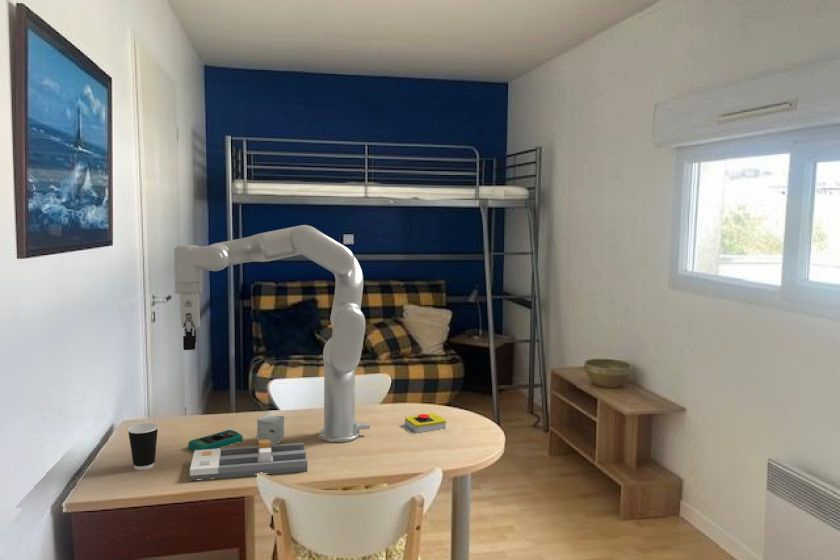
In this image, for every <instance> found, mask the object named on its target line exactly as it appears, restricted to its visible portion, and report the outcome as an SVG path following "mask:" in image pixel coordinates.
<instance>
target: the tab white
mask: <svg viewBox="0 0 840 560" xmlns="http://www.w3.org/2000/svg"><path fill="white" fill-rule="evenodd" d="M259 456H260V457H258V463H263V462H273V456H271V448H262V449H259Z"/></svg>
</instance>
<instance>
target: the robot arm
mask: <svg viewBox="0 0 840 560" xmlns="http://www.w3.org/2000/svg"><path fill="white" fill-rule="evenodd" d="M298 255H299V256H300V255H303V257H306V259H308V260H310V261H312V262H314V263H316V264H317V265H319V266H321V267H322V268H324V269H326V270H328V271H329V272H331V273H332V274H333V275H334V278H335V287H334V296H333V303H332V308H331V312H330V313H331V314H330V315H329V316H330V318H329V319H330V323H331V326H332V331H331V332H332V334H331V337H330V338H329V339H328V340H327V341H326V343H325V345H324V347H323V351H322V352H323V353H322V357H323V359H322V361H323V375H324V376H323V382H324V383H323V386H324V387H323V388H324V389H323V391H324V392H323V394H324V395H323V399H324V400H323V403H324V404H323V405H324V406H323V410H324V411H323V413H324V415H323V422H324V423H323V427H324V428H323V429H321V430H320V431H319V433H318V436H319V438H320V439H321V440H323V441H325V442H330V443H345V442H350V441H354V440H357V439H358V438H359V437H360V430H361V431H362V430H365V431H366V430H370V428H371V425H370V423H369V422H367V423H365V421H360V422H358V421H356V418H355V417H356V416H355V415H356V406H355V405H356V404H355V400H356V399H355V398H356V396H355V395H356V393H355V391H356V370H355V369H357V367H358V366H359V363H360V360H361V357H362V351H363V346H364V345H363V344H364V341H365V333H366V332H365V331H366V318H365V314H364V313H363V312H362V310H361V307H362V300H363V290H364V274H363V270H362V268H361V265H360V263H359V261H358V259H357V258H356V257H355V256H354V253H353V252H352V251H351V250H350V249H349V248H348V247H347V246H345V245H343V244H342V243H340V242H339V241H336V240H335V239H333V238H332V237H329V236H328V235H327V234H324V233H323V232H322V231H320V230H318V229H317V228H316V227H313V226H311V225H309V224H301V225H297V226H291V227H286V228H281V229H276V230H271V231H270V230H269V231H265V232H261V233H257V234H253V235H251V236H250V235H249V236H247V237H241V238H236V239H231V240H227V241H221V242H216V243H212V244H209V245H205V246H199V245H196V244H182V245H181V244H179V245H177V246H175V247H174V250H173V264H174V265H173V266H174V267H173V268H174V269H173V270H174V294H176V295H179V296H178V297H179V312H180V313H179V316H180V325H181V328H182V329H183V336H182V341H183V343H182V345H183V346H182V347H183V350H184V351H195V350H196V343H197V329H198V328H200V325H201V319H200V317H201V316H200V315H201V313H200V311H201V310H200V309H201V306H200V305H201V303H200V295H199V294H203V271H210V272H211V271H212V272H218V271H222V270H224V269H225V268H226V267H230V266H234V265H238V264H239V265H240V264H244V263H245V264H246V263H253V262H260V263H265V262H271V261H277V260H280V259H286V258H289V257H294V256H298Z"/></svg>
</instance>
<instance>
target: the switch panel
mask: <svg viewBox="0 0 840 560" xmlns="http://www.w3.org/2000/svg"><path fill="white" fill-rule="evenodd" d="M270 447H272V452H271V456H273V462H263V463H258V457H260V456H259V453H258V449H257V448H259V445H257V446H256V445H254V446H253V445H252V446H240V447H239V446H238V447H228V448H227V447H223V448H219V449H206V450H195V451H193V455H192V459H191V463H190V468H189V481H190V480H197V479H211V478H223V479H230V478H231V479H232V478H234V477H235V478H245V477H256V476H255V474H257V473H260V472H263V473H268V474H270V475H281V474H293V473H304V472H308V458H307V453H306V452H307V451H306V449H305V443H304V442H296V443H295V442H294V443H281V444H275V445H270ZM235 478H234V479H235Z"/></svg>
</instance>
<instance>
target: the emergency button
mask: <svg viewBox="0 0 840 560" xmlns="http://www.w3.org/2000/svg"><path fill="white" fill-rule="evenodd" d="M446 423H447V420H446V419H444V418H443V417H442V416H439V415H438V414H437V413H434V412H433V413H432V412H431V413H421V414H418V415H412V416H411V415H410V416H405V418H404V424H401V425H400V427H401V426H402V427H401V428H402V429H404V430H405V429H406V430H405V431H407V432H408V433H409V434H411V435H416V433H417V434H423V432H424V433H429V431H430V432H436V431H435V430H437V431H441V430H440V429H443V430H447V429H446Z"/></svg>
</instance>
